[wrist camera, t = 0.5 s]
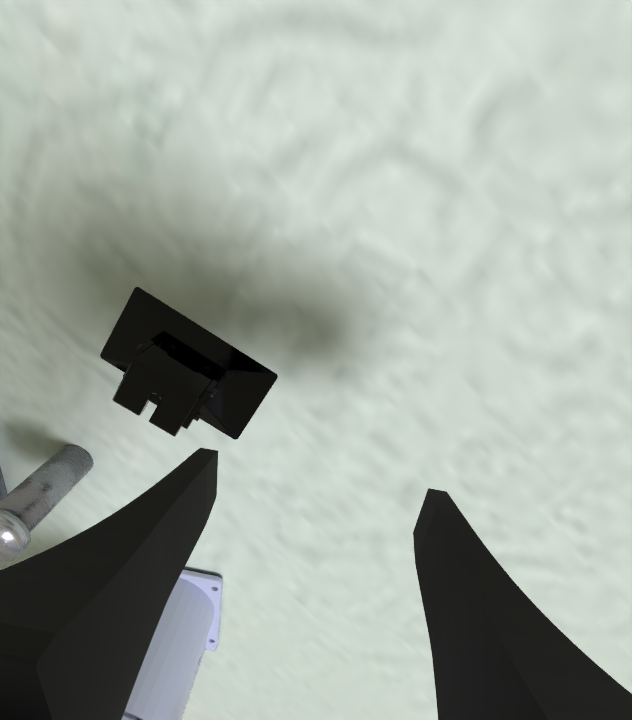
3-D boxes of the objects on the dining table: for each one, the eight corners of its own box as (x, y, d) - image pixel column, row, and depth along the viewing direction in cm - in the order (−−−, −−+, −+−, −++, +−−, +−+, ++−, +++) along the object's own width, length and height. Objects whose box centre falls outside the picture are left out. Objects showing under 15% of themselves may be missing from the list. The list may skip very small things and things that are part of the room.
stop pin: (100, 480, 27) (23, 567, 21) (57, 472, 27) (-33, 556, 21) (96, 444, 25) (12, 525, 19) (50, 436, 25) (-47, 513, 19)
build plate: (80, 348, 23) (18, 381, 19) (123, 248, 20) (61, 261, 16) (249, 452, 25) (227, 503, 21) (310, 372, 22) (298, 413, 18)
